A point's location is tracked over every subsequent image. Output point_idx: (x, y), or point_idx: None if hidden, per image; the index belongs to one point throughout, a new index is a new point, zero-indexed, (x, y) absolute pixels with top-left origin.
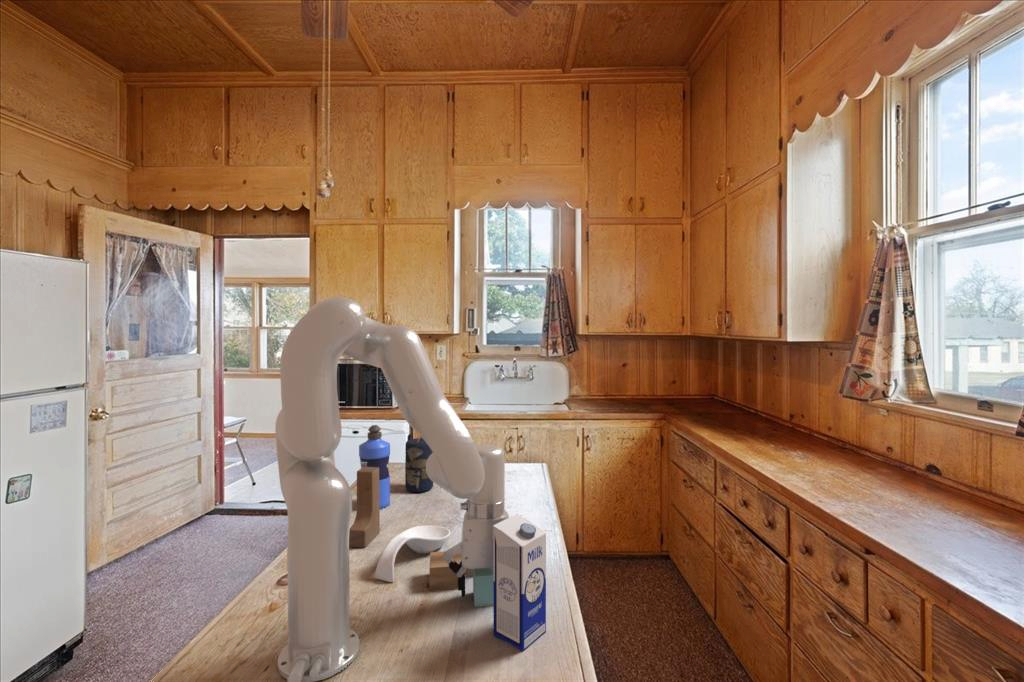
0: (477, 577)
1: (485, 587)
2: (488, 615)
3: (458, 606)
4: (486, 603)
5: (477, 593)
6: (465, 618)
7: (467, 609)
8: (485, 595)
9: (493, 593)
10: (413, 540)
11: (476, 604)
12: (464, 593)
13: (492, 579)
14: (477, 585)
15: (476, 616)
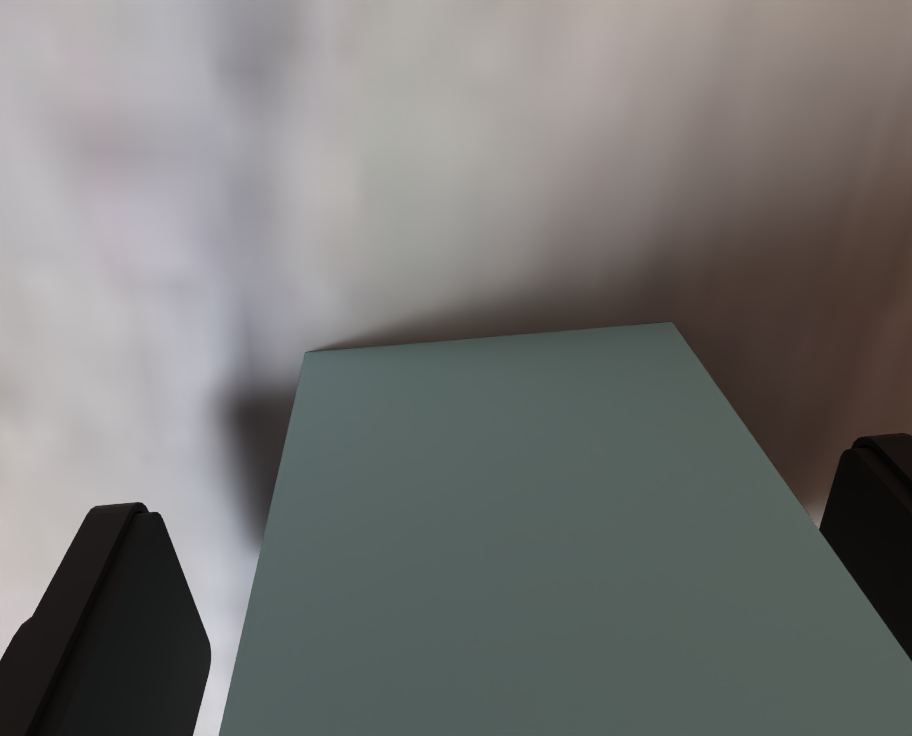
0: (874, 731)
1: (571, 527)
2: (486, 78)
3: (888, 332)
4: (505, 352)
5: (699, 440)
6: (881, 18)
7: (787, 260)
8: (542, 422)
9: (399, 450)
10: None
11: (654, 337)
12: (888, 468)
13: (426, 689)
14: (769, 551)
15: (690, 64)
